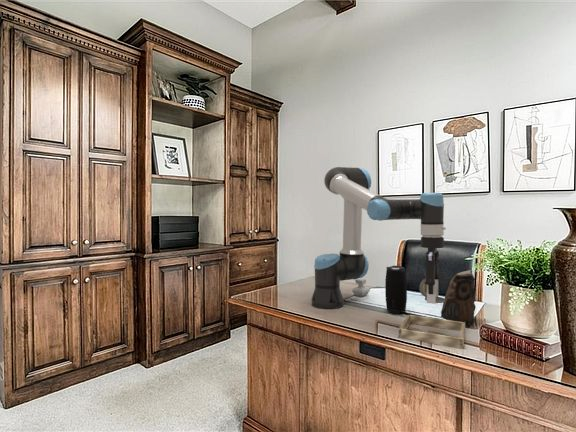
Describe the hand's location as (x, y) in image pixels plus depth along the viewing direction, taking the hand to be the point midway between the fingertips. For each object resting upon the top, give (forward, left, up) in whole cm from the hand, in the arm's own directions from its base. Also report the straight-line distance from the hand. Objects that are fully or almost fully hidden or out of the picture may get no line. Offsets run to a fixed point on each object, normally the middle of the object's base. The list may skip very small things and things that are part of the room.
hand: (432, 299), depth 120 cm
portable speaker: (-17, +21, -12) cm, 29 cm away
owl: (+7, +21, -12) cm, 25 cm away
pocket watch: (0, 0, 0) cm, 0 cm away
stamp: (-39, +41, -12) cm, 58 cm away
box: (0, 0, -12) cm, 12 cm away
